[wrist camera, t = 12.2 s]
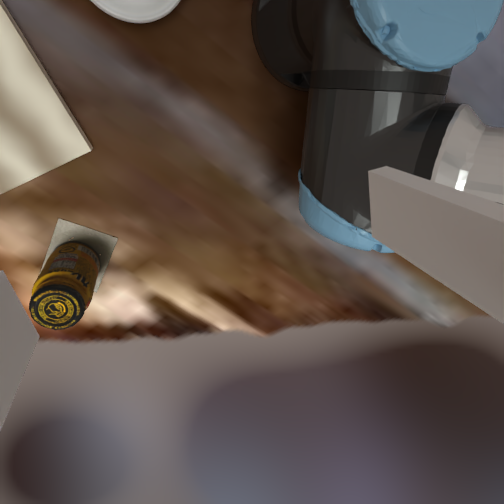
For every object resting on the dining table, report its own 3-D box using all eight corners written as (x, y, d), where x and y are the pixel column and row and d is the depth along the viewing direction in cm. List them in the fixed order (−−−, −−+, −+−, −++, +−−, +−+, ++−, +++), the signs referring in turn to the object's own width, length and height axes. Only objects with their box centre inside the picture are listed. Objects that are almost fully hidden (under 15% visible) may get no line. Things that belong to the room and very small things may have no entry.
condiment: (39, 276, 49) (10, 328, 39) (59, 217, 47) (34, 256, 36) (96, 291, 52) (84, 344, 41) (118, 237, 50) (111, 278, 39)
